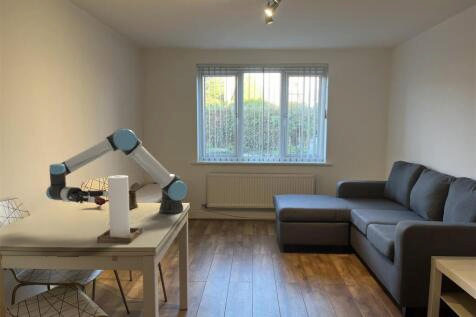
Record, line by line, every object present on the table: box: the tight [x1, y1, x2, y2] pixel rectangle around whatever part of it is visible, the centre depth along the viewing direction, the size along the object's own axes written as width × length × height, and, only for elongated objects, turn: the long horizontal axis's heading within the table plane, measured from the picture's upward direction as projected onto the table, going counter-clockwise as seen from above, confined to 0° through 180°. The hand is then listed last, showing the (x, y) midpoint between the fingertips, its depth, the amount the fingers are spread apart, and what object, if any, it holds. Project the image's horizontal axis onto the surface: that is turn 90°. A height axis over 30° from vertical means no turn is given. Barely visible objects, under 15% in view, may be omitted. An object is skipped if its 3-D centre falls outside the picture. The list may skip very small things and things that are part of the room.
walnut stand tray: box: [97, 227, 143, 244], centre depth 182 cm, size 16×16×2 cm
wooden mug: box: [129, 182, 140, 210], centre depth 243 cm, size 9×14×18 cm, turn 42°
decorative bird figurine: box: [94, 196, 109, 208], centre depth 245 cm, size 3×18×10 cm, turn 65°
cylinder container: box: [107, 174, 131, 237], centre depth 180 cm, size 9×9×30 cm
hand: (104, 197), depth 184 cm, fingers open, 13 cm apart
